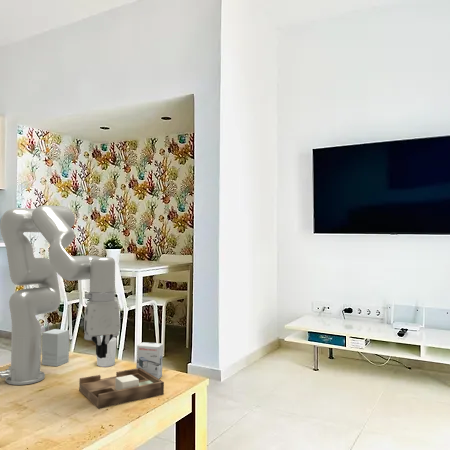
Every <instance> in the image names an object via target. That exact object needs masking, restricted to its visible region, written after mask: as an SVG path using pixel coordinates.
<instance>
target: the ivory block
mask: <svg viewBox="0 0 450 450" xmlns="http://www.w3.org/2000/svg"><path fill="white" fill-rule="evenodd" d="M136 386H139V379H138V378H136V377H134V376H133V375H127V376H122V377H117V378H115V389H116V390H121V389H126V388H131V387H136Z"/></svg>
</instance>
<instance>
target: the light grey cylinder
mask: <svg viewBox="0 0 450 450" xmlns="http://www.w3.org/2000/svg"><path fill="white" fill-rule="evenodd" d="M102 337H103V336H101V343H102ZM117 341H118V339H117V337H113V338H112V339H111V340H110V341H109V343H108V344H107V354H106V358H99V357H98V356H97V355H96V366H98V367H101V368H102V367H103V368H107V367H112V366H114V365H115V363H116V353H117Z"/></svg>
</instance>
